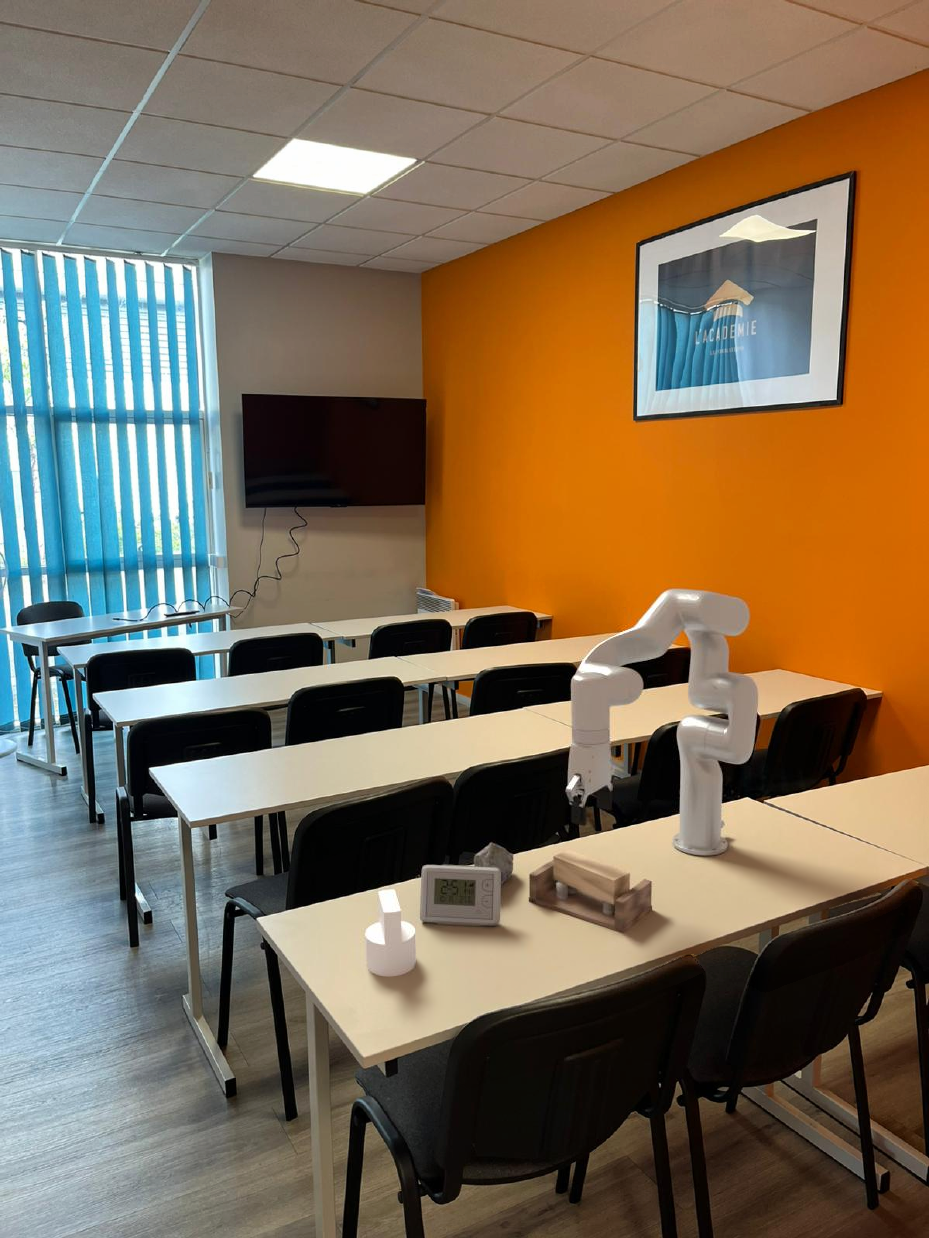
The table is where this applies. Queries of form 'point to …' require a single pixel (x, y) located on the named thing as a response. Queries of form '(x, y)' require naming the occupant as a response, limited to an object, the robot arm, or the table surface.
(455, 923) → the digital clock
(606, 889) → the board
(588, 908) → the peg cradle
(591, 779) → the robot arm
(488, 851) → the mineral rock
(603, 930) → the table surface
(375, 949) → the base with upright slab
